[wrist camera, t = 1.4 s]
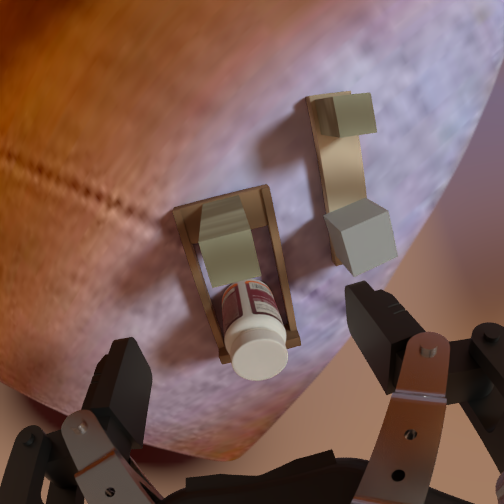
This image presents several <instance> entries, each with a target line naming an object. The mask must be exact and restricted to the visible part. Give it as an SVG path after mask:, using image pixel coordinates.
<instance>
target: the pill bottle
mask: <svg viewBox="0 0 504 504" xmlns="http://www.w3.org/2000/svg"><path fill="white" fill-rule="evenodd" d="M222 316H223V329H224V342H225V347H226V349H227V351H228V353H229V354H230V357H231V363H232V367H233V369H234V371H235V372H236V373H237V374H238V375H239V376H241V377H242V378H245V379H248V380H254V381H258V380H265V379H268V378H271V377H273V376H275V375H277V374H278V373H280V372H281V371H282V370H283V368H284V367H285V366H286V363H287V361H288V352H287V349H286V346H285V343H286V330H285V327H284V325H283V322H282V319H281V316H280V313H279V311H278V308H277V305H276V302H275V299H274V297H273V294H272V292H271V290H270V288H269V287H268V286H267V285H266V284H265V283H263V282H262V281H259V280H256V279H247V280H243V281H239V282H235V283H232V284H231V285H230V286H229V287H228V288H227V289H226V290H225V292H224V294H223V297H222Z"/></svg>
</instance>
